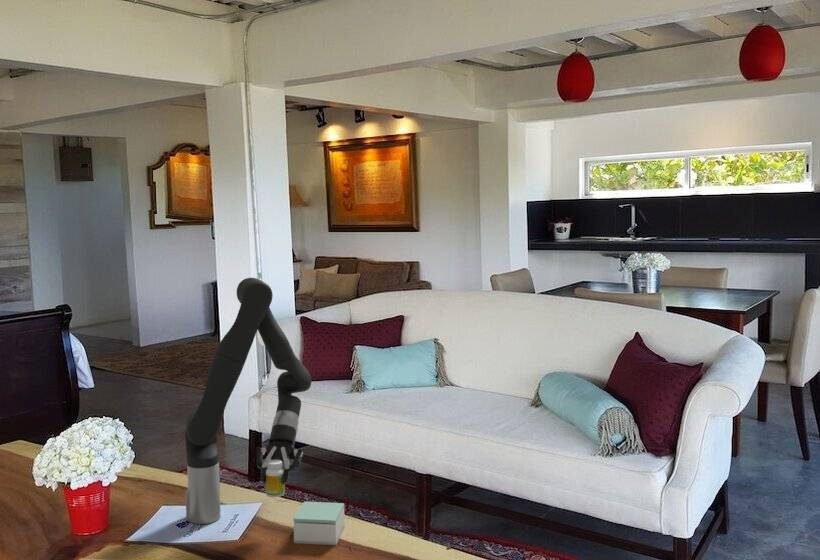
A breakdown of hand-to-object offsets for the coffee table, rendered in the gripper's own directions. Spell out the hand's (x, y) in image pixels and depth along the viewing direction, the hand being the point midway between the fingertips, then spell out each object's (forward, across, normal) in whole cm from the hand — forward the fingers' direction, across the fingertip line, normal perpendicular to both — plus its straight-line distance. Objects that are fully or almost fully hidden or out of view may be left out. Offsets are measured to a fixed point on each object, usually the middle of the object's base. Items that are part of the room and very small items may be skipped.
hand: (273, 482), depth 216 cm
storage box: (+10, +13, +11) cm, 20 cm away
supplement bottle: (+2, 0, +4) cm, 5 cm away
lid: (+6, +13, +7) cm, 16 cm away
